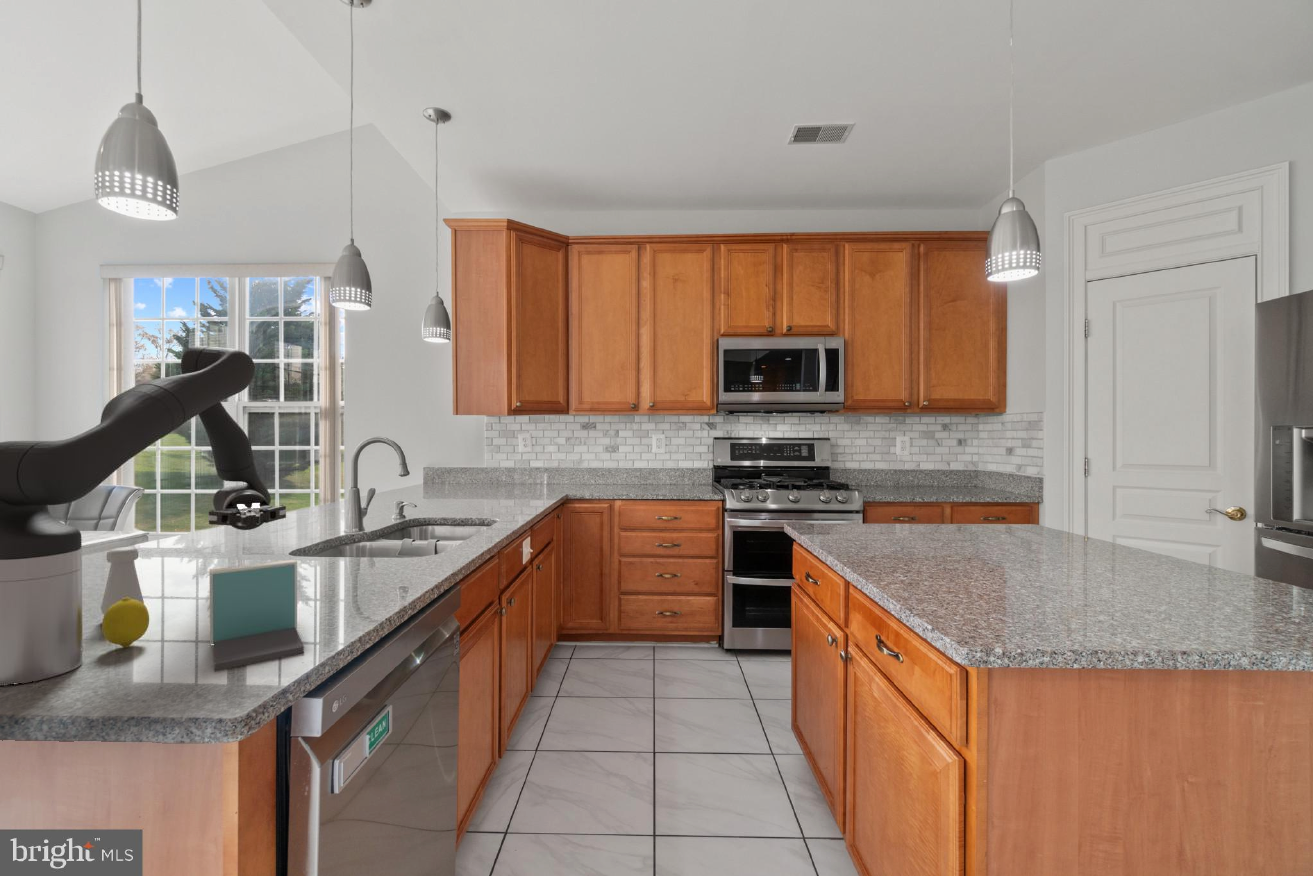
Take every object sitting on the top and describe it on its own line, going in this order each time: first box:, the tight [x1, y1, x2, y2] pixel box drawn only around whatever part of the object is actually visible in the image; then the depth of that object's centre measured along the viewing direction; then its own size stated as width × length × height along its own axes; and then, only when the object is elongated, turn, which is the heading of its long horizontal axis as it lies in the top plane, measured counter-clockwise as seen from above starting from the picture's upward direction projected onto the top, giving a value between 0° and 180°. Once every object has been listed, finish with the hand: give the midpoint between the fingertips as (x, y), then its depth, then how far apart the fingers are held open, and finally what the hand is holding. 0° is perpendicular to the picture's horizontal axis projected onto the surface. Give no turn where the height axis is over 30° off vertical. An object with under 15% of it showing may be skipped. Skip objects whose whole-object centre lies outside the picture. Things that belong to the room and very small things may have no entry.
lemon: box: [101, 597, 150, 648], centre depth 91 cm, size 6×6×8 cm
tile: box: [209, 559, 298, 646], centre depth 96 cm, size 12×2×12 cm, turn 129°
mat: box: [213, 627, 305, 672], centre depth 90 cm, size 11×11×1 cm
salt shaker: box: [100, 546, 145, 616], centre depth 104 cm, size 6×6×13 cm
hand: (251, 520), depth 104 cm, fingers closed
